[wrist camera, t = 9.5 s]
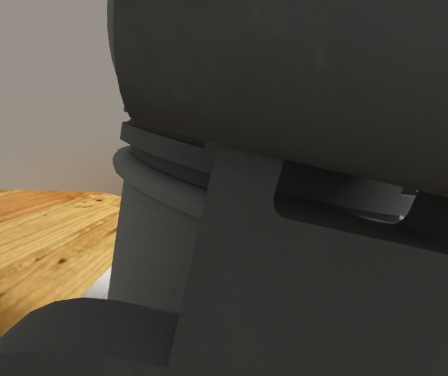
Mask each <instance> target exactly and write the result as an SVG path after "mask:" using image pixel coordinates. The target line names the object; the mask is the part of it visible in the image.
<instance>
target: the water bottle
mask: <svg viewBox="0 0 448 376" xmlns="http://www.w3.org/2000/svg"><path fill="white" fill-rule="evenodd" d="M107 28H108V37H109V46H110V51H111V57H112V61H113V64H114V68H115V72H116V75H117V78H118V84H119V89H120V93H121V96H122V99H123V103H124V111H125V112H128V114H129V116H130V118H131V119H130V121H127V122H123V123H122V128H121V136H120V139H121V140H123V141H125V142H126V143H128V144H130V146H126V147H123V148H121V149H119V150H118V151H117V152H116V153H115V155H114V157H113V165H114V168H115V171H116V173H117V174H118V175H119V176H121V177H122V178H123V179H124V183H123V190H122V197H121V204H120V211H119V219H118V226H117V233H116V240H115V247H114V254H113V261H112V269H111V276H110V283H109V290H108V297H107V299H99V298H87V297H82V298H75V299H69V300H62V301H55V302H53V303H50V304H48V305H46V306H43V307H41V308H39V309H36V310H34V311H31V312H30V313H28V314H27V315H26V316H25V317H24V318H22V319H21V320H20V321H19V322H18V323H16V324H15V325H14V326H13V327H12V328H10V329H9V330H8V331H7V332H6V333H5V334H4V335H3V336H2V337H1V338H0V376H448V0H108V3H107ZM417 190H418V191H417ZM401 215H404V216H405V218H403V217H402V216H401Z"/></svg>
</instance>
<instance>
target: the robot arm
mask: <svg viewBox="0 0 448 376" xmlns="http://www.w3.org/2000/svg"><path fill="white" fill-rule="evenodd" d="M111 269H112V268H111V267H110V268H109V269H108V270H107V271H106V272H105V273H104V274H103V275H102V276H101V277H100V278H99V279H98V280H97V281H96V282H95V283H94V284H93V285H92V286H91V287H90V288H89V289H88V290H87V291H86V292H85V293H84V294H83V295H82V296H81V297H80V298H82V297H87V298H99V299H107V297H108V290H109V283H110V276H111Z"/></svg>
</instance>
